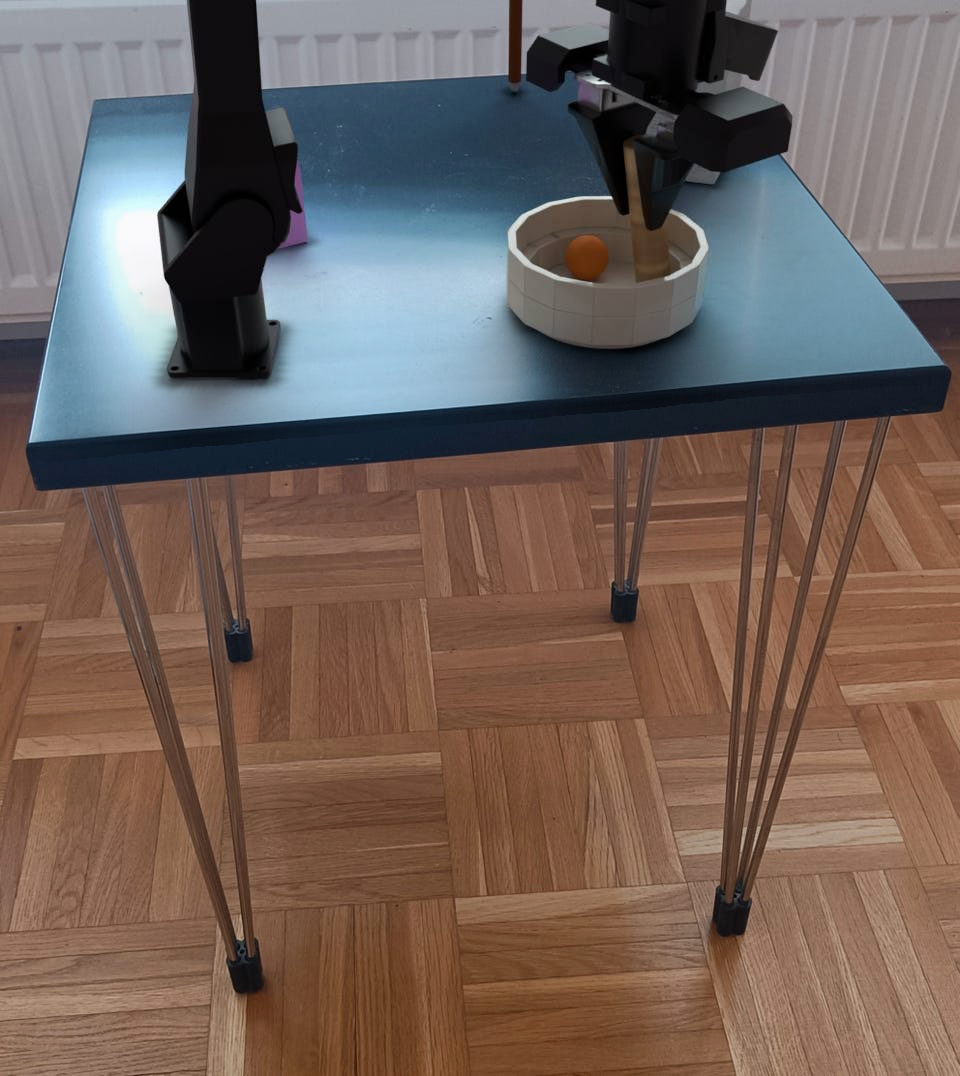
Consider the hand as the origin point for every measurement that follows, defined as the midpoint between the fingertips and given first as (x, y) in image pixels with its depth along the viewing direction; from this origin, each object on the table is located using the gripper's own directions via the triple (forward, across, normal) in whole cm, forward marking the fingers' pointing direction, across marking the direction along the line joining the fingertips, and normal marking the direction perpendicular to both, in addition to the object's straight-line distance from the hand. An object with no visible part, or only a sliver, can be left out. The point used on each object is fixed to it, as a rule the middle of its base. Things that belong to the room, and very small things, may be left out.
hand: (640, 221), depth 82 cm
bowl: (+6, +1, +2) cm, 6 cm away
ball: (+4, +4, +1) cm, 5 cm away
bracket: (+6, +28, +16) cm, 33 cm away
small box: (+6, +15, -19) cm, 25 cm away
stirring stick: (+5, -1, -1) cm, 5 cm away
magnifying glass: (+6, +36, -17) cm, 41 cm away
